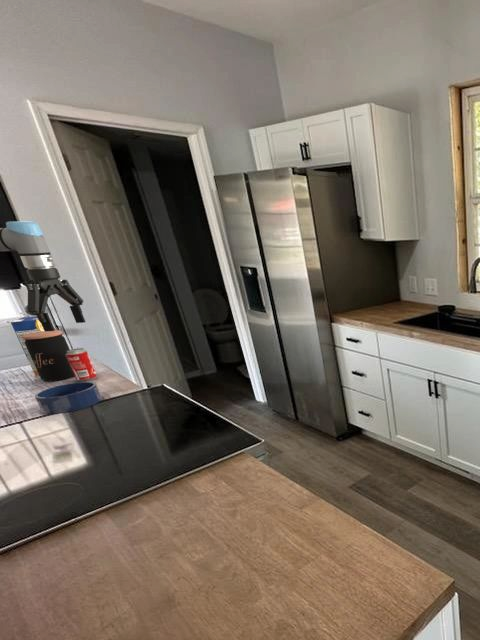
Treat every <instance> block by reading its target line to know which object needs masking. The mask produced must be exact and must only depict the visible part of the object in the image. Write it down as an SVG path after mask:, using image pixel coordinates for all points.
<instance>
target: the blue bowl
mask: <svg viewBox="0 0 480 640" xmlns="http://www.w3.org/2000/svg"><path fill="white" fill-rule="evenodd" d="M34 399H35V401H36V403H37V405H38V407H39V409H40V411H41V413H42V414H45V415H52V414H53V415H55V414H56V415H57V414H63V413H69V412H74V411H78V410H82V409H86V408H88V407H92V406H95V405H97V404H98V403H100V402H101V401H102V400H103V397H102V394H101V391H100V389H99V387H98V384H97V383H96V382H94V381H82V382H80V381H78V382H71V383H65V384H61V385H56V386H53V387H49V388H45V389H43V390H41V391H39V392H37V393H35V394H34Z"/></svg>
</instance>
